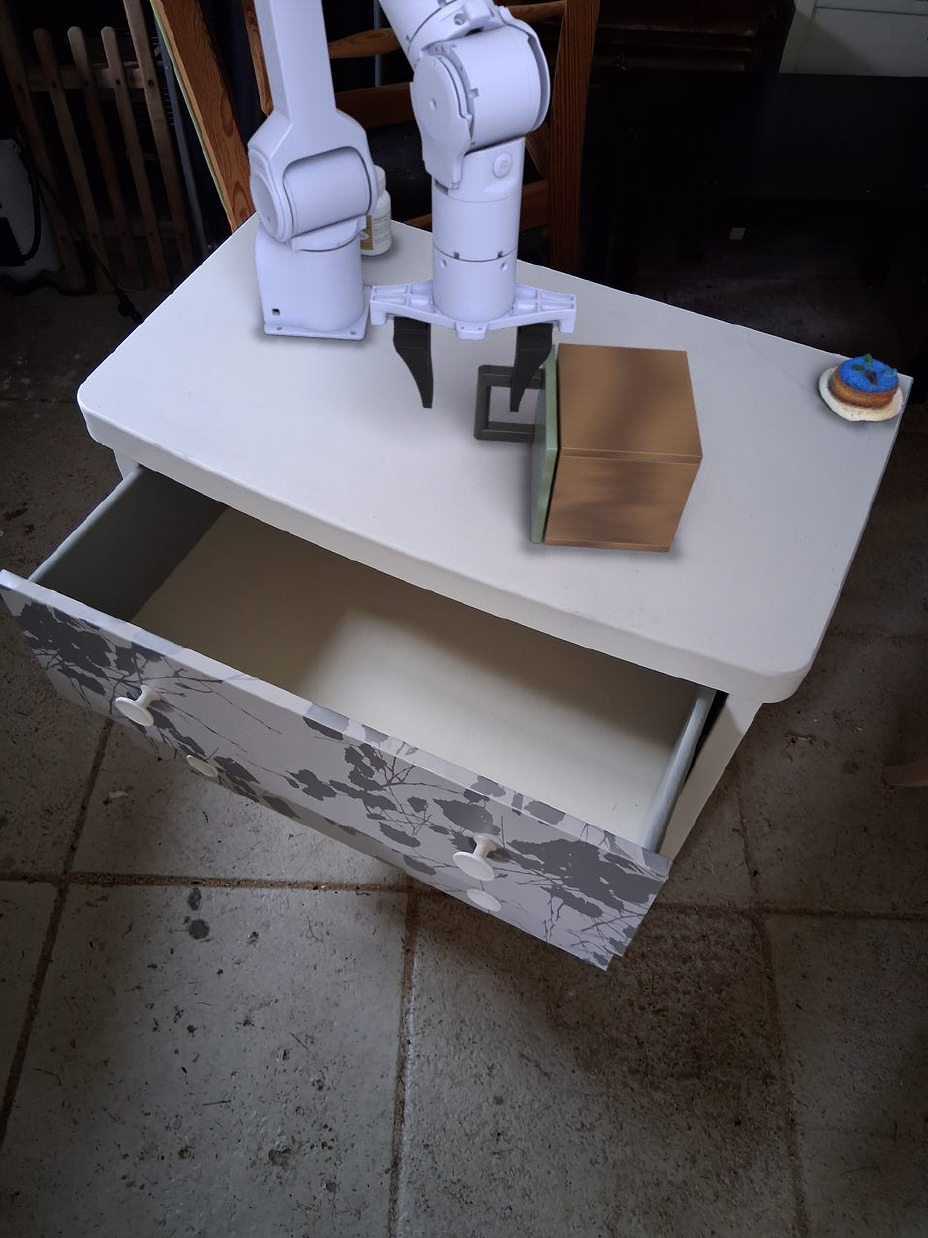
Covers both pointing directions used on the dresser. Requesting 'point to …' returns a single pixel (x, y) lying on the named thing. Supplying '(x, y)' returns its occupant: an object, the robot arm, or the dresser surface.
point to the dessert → (862, 389)
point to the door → (524, 429)
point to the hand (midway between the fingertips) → (470, 402)
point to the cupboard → (621, 447)
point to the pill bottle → (377, 222)
